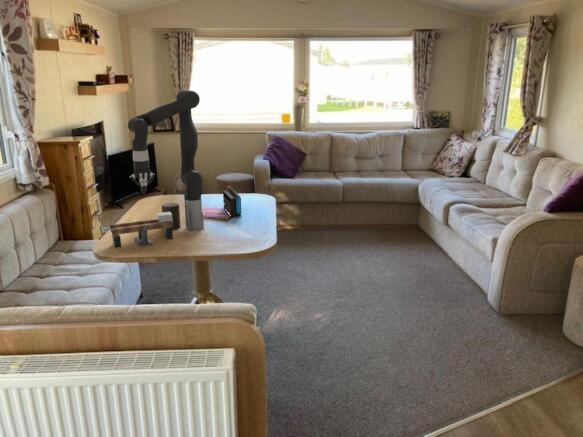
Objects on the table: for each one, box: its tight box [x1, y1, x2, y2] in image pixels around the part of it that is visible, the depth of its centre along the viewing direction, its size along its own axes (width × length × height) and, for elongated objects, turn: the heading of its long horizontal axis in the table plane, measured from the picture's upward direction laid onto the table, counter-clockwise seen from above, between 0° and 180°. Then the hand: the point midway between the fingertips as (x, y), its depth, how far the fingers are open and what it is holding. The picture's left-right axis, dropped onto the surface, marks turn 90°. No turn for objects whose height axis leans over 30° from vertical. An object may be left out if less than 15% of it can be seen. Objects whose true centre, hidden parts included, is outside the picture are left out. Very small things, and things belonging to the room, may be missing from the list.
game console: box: [222, 185, 242, 218], centre depth 292 cm, size 28×6×15 cm, turn 21°
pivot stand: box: [111, 227, 174, 249], centre depth 242 cm, size 29×14×10 cm, turn 118°
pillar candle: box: [161, 202, 181, 231], centre depth 263 cm, size 10×10×15 cm
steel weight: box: [155, 212, 173, 223], centre depth 245 cm, size 7×5×5 cm
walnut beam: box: [109, 218, 173, 235], centre depth 241 cm, size 30×9×3 cm, turn 118°
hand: (144, 192), depth 238 cm, fingers closed
